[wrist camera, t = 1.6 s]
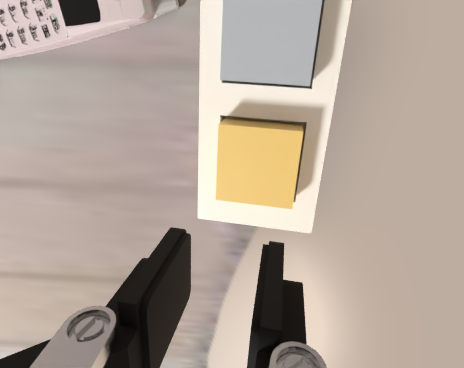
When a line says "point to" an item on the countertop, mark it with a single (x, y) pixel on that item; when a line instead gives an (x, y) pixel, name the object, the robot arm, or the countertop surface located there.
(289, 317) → the robot arm
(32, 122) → the countertop surface
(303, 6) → the key slate
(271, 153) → the key ochre
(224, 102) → the keypad
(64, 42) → the mobile phone
